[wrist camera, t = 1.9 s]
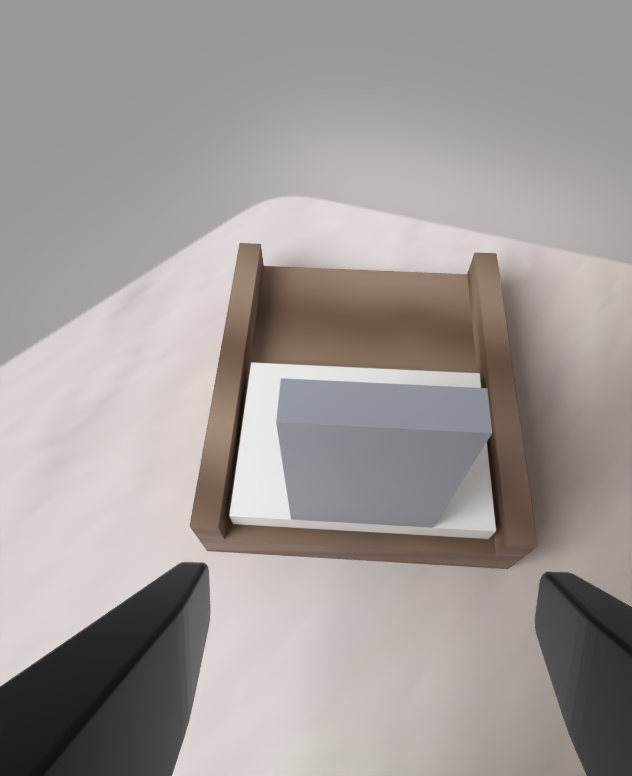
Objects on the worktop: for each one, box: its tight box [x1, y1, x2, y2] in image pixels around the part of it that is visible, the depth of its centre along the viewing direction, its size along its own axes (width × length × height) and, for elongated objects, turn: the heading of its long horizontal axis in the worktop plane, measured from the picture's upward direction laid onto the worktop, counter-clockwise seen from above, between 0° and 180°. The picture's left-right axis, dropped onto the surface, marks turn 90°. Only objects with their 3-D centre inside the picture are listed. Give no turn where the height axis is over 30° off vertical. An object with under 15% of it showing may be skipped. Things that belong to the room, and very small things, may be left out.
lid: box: [229, 363, 496, 539], centre depth 18 cm, size 6×9×9 cm
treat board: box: [190, 243, 538, 569], centre depth 24 cm, size 14×12×4 cm
